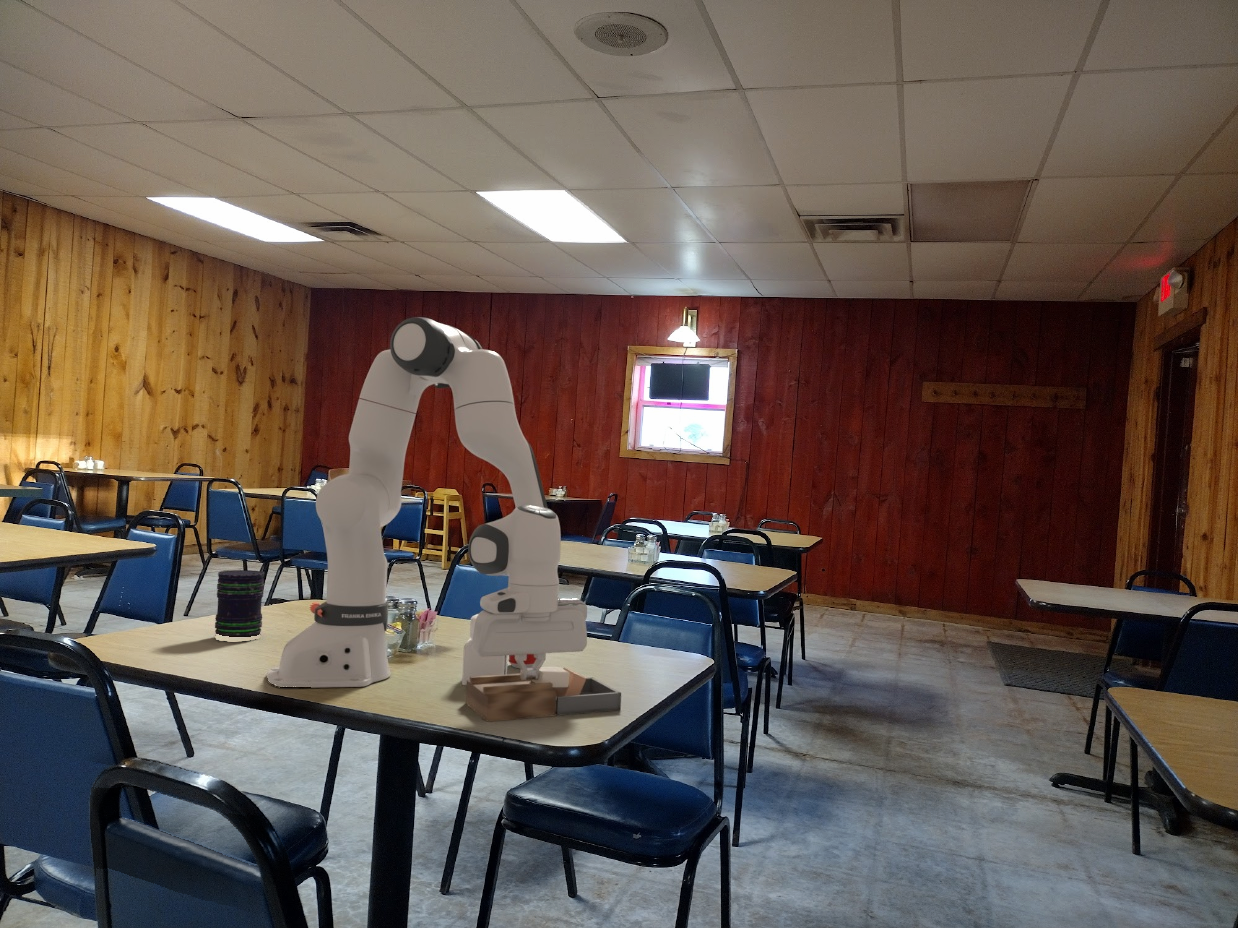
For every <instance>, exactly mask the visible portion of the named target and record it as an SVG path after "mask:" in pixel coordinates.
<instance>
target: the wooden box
mask: <svg viewBox="0 0 1238 928" xmlns="http://www.w3.org/2000/svg"><path fill="white" fill-rule="evenodd" d="M465 687H466V689H465V704H466V705H468V706H469V707H470V708H471V709H472V710H473V711H474V710H475V711H474V712H475V713H476V714H478V715H479V716H480V717H481V718H483V720H484V721H486V722H498V721H509V720H521V719H531V718H543V717H554V716H556V714H555V706H556V692H555V691H554V690H552V687H553V684H552V683H551V682H549V683H534V682H533V681H531V680H522V679H521V678H520V673H507V674H504V675H488V676H472V677H470V680H467V684H466V686H465Z"/></svg>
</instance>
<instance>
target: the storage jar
mask: <svg viewBox="0 0 1238 928" xmlns="http://www.w3.org/2000/svg"><path fill="white" fill-rule="evenodd" d="M217 577H218V579H217V585H216V598H217V612H216V614H215V622H214V629H215V631H214V632H215V635H216V634H219V635H222V636H229V637H251V636H257V635H259V634H260V635H261V632H262V627H263V621H262V620H263V614H262V602H263V601H262V600H263V599H262V598H263V597H264V588H265V583H264V580H265V579H264V577H265V572H264V571H261V570H250V569H249V570H244V569H238V570H237V569H235V570H233V569H232V570H223V571H218V573H217Z"/></svg>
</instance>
